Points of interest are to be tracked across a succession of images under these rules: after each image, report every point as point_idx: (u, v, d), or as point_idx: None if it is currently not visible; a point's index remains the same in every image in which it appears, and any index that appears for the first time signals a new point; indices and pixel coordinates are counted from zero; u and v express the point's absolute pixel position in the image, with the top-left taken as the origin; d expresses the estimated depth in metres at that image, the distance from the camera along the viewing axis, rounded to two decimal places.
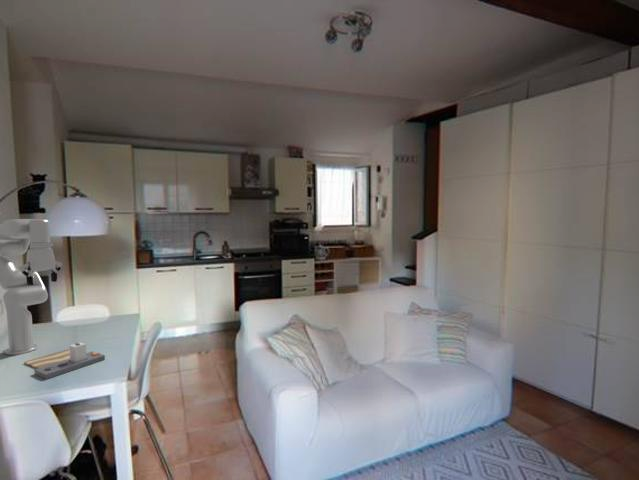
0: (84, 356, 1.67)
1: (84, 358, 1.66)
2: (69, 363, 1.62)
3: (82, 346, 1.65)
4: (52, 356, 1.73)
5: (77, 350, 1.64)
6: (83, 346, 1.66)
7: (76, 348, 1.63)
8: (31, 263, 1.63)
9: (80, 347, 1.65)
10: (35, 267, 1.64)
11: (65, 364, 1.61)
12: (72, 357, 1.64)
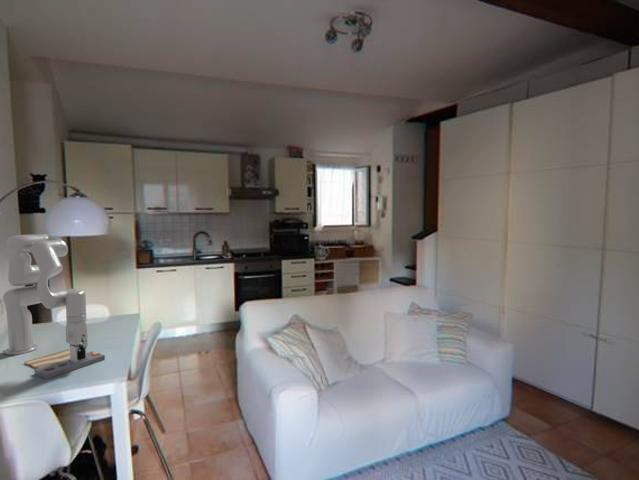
0: None
1: (84, 358, 1.66)
2: (69, 363, 1.62)
3: None
4: (52, 356, 1.73)
5: (77, 350, 1.64)
6: None
7: (76, 348, 1.63)
8: (87, 334, 1.65)
9: None
10: None
11: (65, 364, 1.61)
12: (72, 357, 1.64)
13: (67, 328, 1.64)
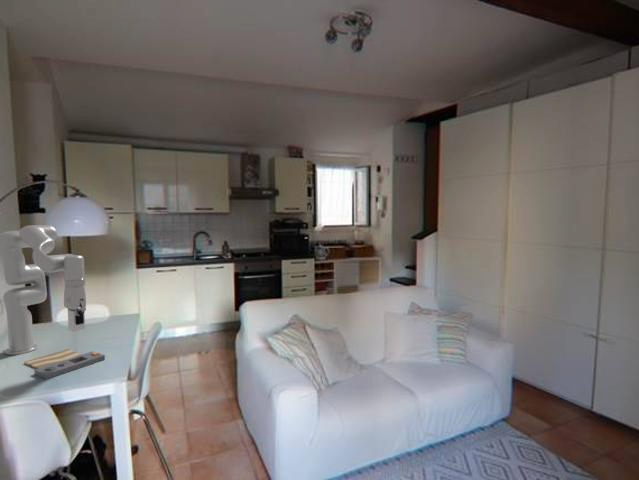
0: None
1: None
2: (69, 363, 1.62)
3: None
4: (52, 356, 1.73)
5: (75, 315, 1.63)
6: None
7: (74, 312, 1.62)
8: (85, 299, 1.64)
9: None
10: None
11: (65, 364, 1.61)
12: (70, 321, 1.63)
13: (65, 293, 1.63)
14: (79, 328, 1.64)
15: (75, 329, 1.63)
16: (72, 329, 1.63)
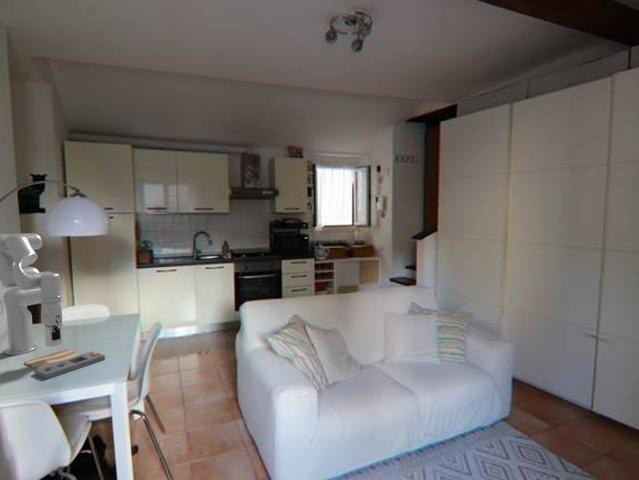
0: None
1: (59, 339, 1.71)
2: (69, 363, 1.62)
3: None
4: (52, 356, 1.73)
5: (52, 331, 1.68)
6: None
7: (51, 329, 1.68)
8: (61, 316, 1.69)
9: None
10: None
11: (65, 364, 1.61)
12: (47, 337, 1.69)
13: (42, 310, 1.69)
14: (56, 343, 1.70)
15: (52, 345, 1.68)
16: (49, 345, 1.68)
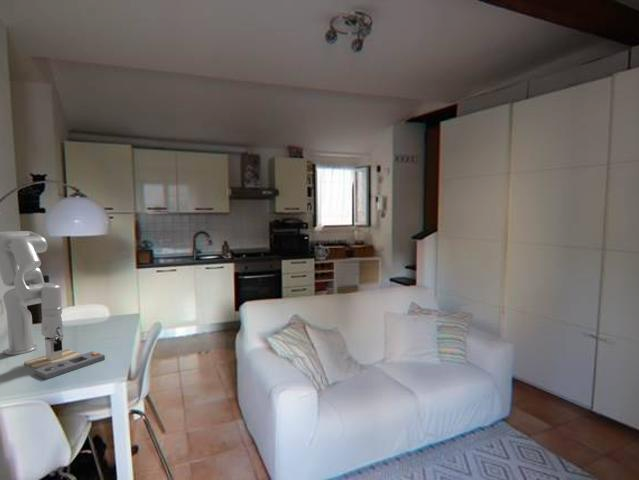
0: (60, 350, 1.71)
1: (60, 352, 1.71)
2: (69, 363, 1.62)
3: None
4: None
5: (52, 344, 1.69)
6: None
7: (51, 342, 1.68)
8: (62, 327, 1.69)
9: None
10: None
11: (65, 364, 1.61)
12: (48, 351, 1.69)
13: (42, 321, 1.69)
14: (56, 357, 1.70)
15: (52, 358, 1.69)
16: (49, 358, 1.69)
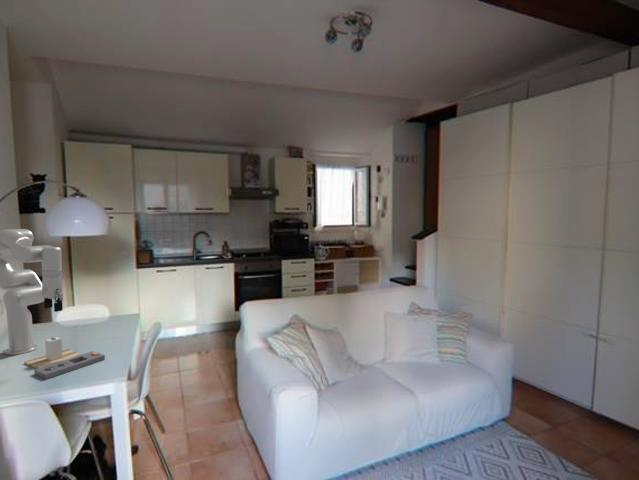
0: (60, 350, 1.71)
1: (60, 352, 1.71)
2: (69, 363, 1.62)
3: (57, 340, 1.70)
4: None
5: (52, 344, 1.69)
6: (58, 340, 1.71)
7: (51, 342, 1.68)
8: (61, 289, 1.70)
9: (55, 341, 1.70)
10: None
11: (65, 364, 1.61)
12: (48, 351, 1.69)
13: (43, 283, 1.70)
14: (56, 357, 1.70)
15: (52, 358, 1.69)
16: (49, 358, 1.69)
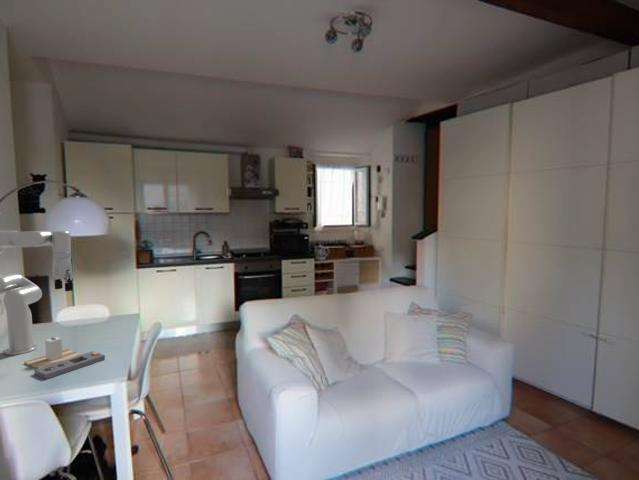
0: (60, 350, 1.71)
1: (60, 352, 1.71)
2: (69, 363, 1.62)
3: (57, 340, 1.70)
4: None
5: (52, 344, 1.69)
6: (58, 340, 1.71)
7: (51, 342, 1.68)
8: (71, 270, 1.81)
9: (55, 341, 1.70)
10: None
11: (65, 364, 1.61)
12: (48, 351, 1.69)
13: (53, 265, 1.81)
14: (56, 357, 1.70)
15: (52, 358, 1.69)
16: (49, 358, 1.69)
